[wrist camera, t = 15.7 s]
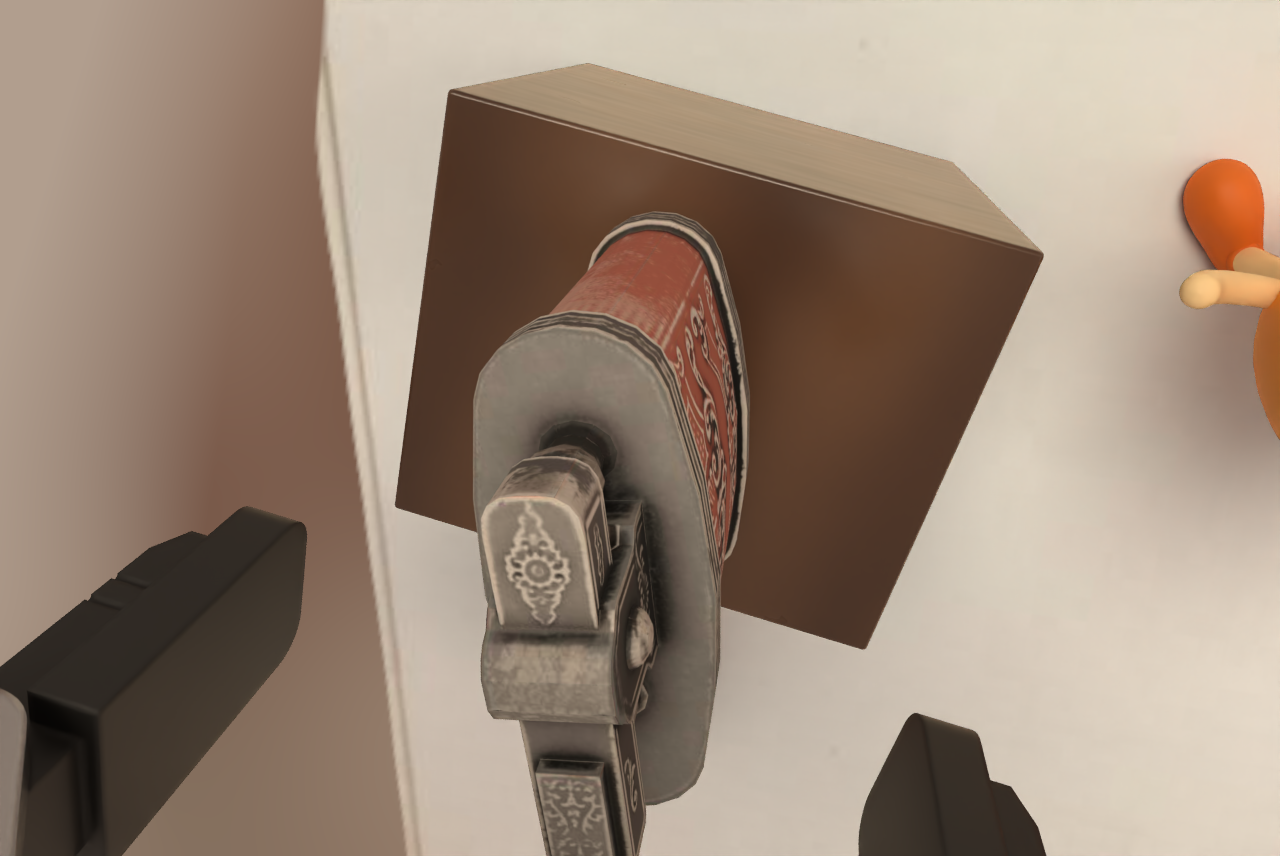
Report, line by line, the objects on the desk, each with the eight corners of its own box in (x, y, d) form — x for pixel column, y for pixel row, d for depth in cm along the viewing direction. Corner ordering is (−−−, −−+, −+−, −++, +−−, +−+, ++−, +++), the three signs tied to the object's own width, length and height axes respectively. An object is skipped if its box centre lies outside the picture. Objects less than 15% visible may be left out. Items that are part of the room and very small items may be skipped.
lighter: (572, 217, 18) (336, 411, 9) (739, 204, 17) (660, 401, 8) (617, 555, 21) (474, 943, 12) (759, 555, 21) (718, 968, 12)
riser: (531, 347, 33) (393, 508, 22) (585, 62, 28) (446, 88, 17) (847, 439, 32) (866, 652, 21) (955, 162, 27) (1047, 253, 17)
